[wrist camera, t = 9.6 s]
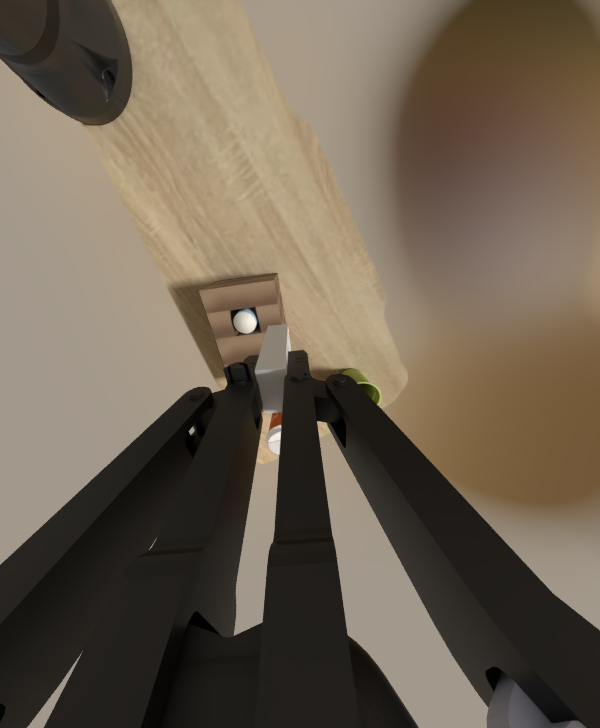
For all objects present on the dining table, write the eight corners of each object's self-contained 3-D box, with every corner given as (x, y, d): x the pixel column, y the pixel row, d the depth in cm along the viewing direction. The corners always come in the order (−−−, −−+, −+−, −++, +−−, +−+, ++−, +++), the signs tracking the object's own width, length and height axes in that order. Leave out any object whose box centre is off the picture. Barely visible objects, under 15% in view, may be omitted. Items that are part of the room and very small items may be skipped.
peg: (242, 299, 45) (230, 313, 36) (261, 297, 44) (253, 310, 36) (247, 317, 46) (236, 335, 38) (264, 315, 46) (258, 332, 37)
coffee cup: (288, 380, 55) (287, 423, 42) (308, 400, 58) (313, 445, 45) (264, 397, 57) (256, 443, 44) (285, 416, 61) (283, 463, 47)
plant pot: (371, 388, 57) (383, 411, 49) (335, 397, 58) (342, 420, 50) (366, 358, 53) (379, 377, 45) (328, 367, 54) (334, 388, 46)
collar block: (217, 281, 43) (198, 290, 34) (277, 273, 43) (273, 280, 34) (245, 374, 54) (235, 400, 45) (293, 368, 53) (293, 393, 45)
